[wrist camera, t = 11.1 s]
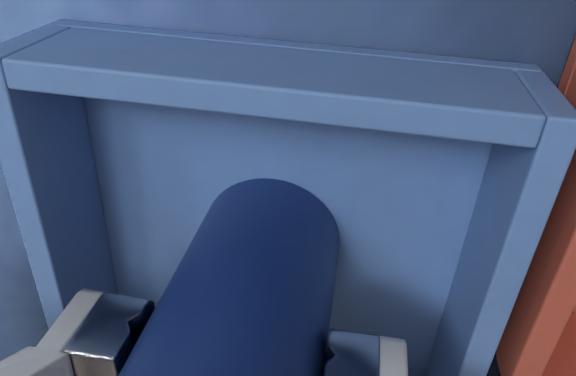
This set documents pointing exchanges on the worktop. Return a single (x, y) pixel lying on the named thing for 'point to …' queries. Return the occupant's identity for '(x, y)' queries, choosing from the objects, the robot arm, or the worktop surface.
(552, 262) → the red bin
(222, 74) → the blue bin
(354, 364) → the robot arm
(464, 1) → the worktop surface
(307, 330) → the blue peg
